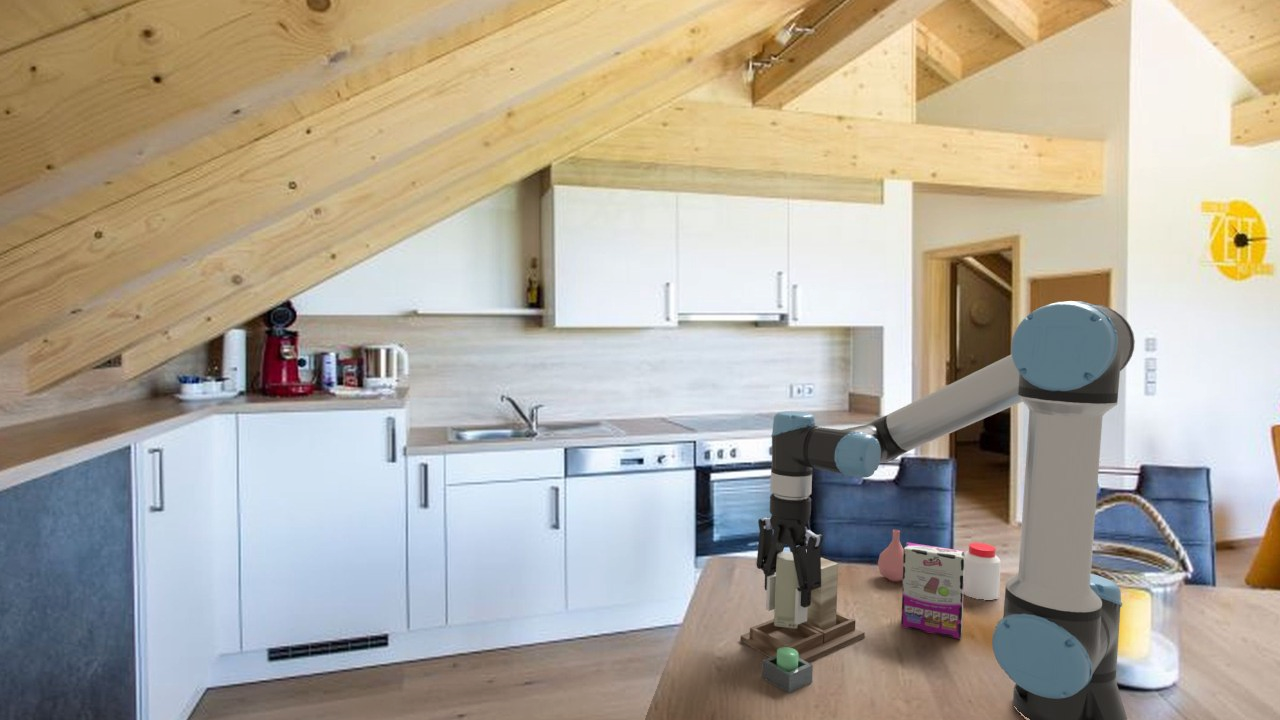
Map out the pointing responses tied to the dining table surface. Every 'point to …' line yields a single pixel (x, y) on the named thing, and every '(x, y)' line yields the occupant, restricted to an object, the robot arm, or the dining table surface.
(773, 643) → the tray
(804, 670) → the grey square tray
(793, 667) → the button
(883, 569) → the perfume bottle
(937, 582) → the candy bar box
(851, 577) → the dining table surface
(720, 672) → the dining table surface
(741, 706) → the dining table surface
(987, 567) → the pill bottle
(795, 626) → the box
